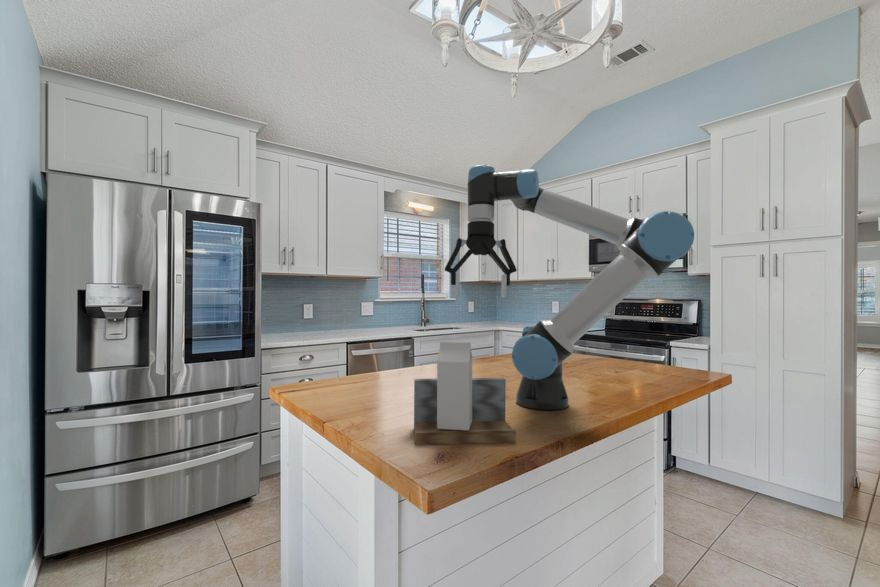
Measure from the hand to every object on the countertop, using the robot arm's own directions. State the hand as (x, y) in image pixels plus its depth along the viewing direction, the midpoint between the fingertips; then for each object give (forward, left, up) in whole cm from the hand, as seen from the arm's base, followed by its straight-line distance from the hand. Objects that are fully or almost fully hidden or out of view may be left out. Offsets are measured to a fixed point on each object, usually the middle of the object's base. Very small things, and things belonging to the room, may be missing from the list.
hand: (480, 297), depth 116 cm
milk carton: (+10, +22, -29) cm, 38 cm away
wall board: (+8, +20, -32) cm, 39 cm away
